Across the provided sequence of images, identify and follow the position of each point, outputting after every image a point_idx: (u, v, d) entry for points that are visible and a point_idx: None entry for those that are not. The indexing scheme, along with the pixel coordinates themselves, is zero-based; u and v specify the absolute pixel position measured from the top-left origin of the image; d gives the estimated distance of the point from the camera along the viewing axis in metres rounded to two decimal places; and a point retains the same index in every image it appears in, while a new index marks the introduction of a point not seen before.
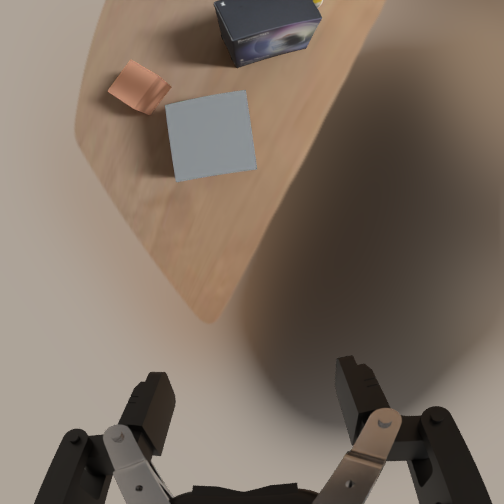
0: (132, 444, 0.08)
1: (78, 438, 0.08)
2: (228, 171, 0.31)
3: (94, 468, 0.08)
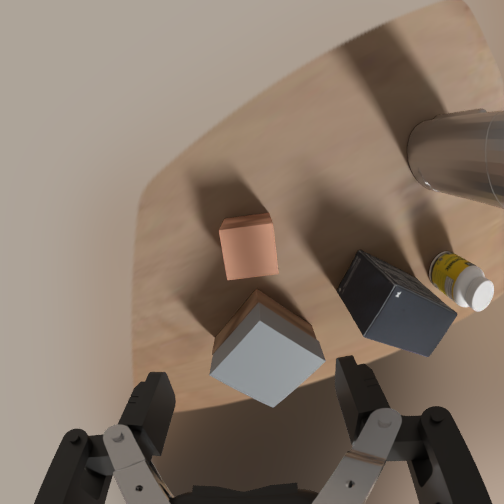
0: (132, 444, 0.08)
1: (78, 438, 0.08)
2: (253, 397, 0.31)
3: (94, 468, 0.08)
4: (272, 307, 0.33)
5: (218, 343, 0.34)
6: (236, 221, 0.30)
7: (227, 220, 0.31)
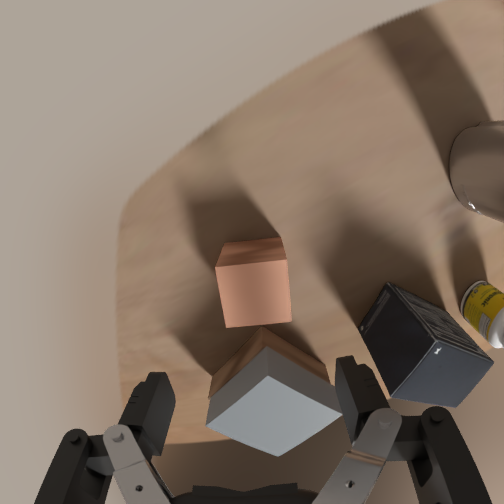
0: (132, 444, 0.08)
1: (78, 438, 0.08)
2: (256, 447, 0.25)
3: (94, 468, 0.08)
4: (280, 350, 0.27)
5: (215, 386, 0.28)
6: (239, 250, 0.23)
7: (227, 247, 0.25)
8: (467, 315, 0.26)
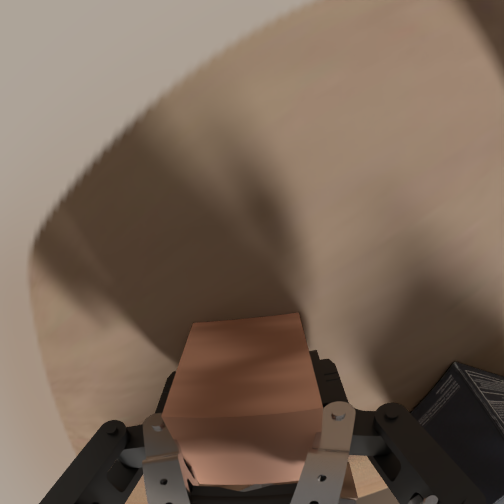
0: None
1: (116, 430, 0.08)
2: None
3: (127, 461, 0.08)
4: None
5: None
6: (217, 356, 0.11)
7: (197, 339, 0.12)
8: None
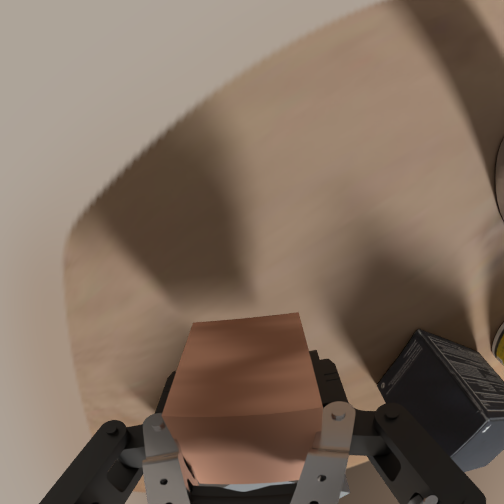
0: None
1: (116, 430, 0.08)
2: None
3: (127, 461, 0.08)
4: None
5: None
6: (217, 356, 0.11)
7: (197, 339, 0.12)
8: (501, 355, 0.19)
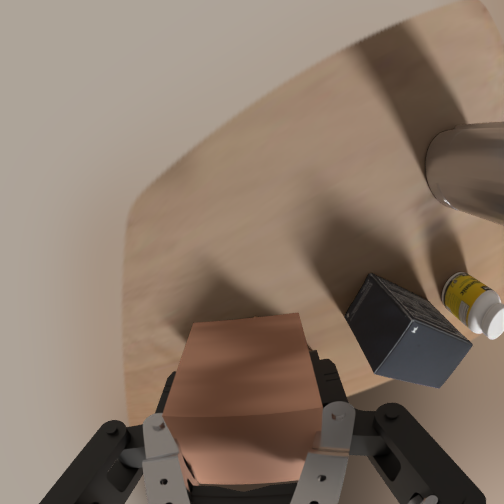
0: None
1: (116, 430, 0.08)
2: None
3: (127, 461, 0.08)
4: None
5: None
6: (217, 356, 0.11)
7: (197, 339, 0.12)
8: (448, 304, 0.30)
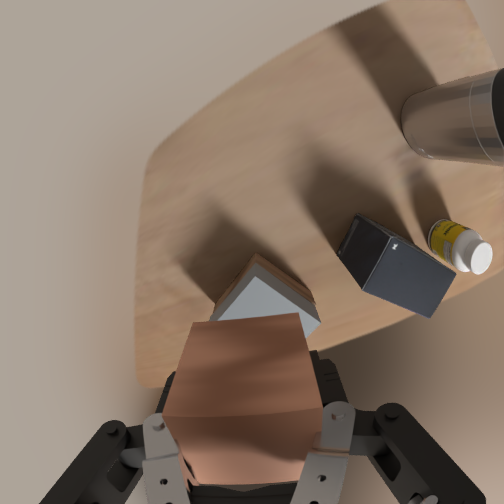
0: None
1: (116, 430, 0.08)
2: None
3: (127, 461, 0.08)
4: (271, 269, 0.34)
5: None
6: (217, 356, 0.11)
7: (197, 339, 0.12)
8: (433, 247, 0.34)
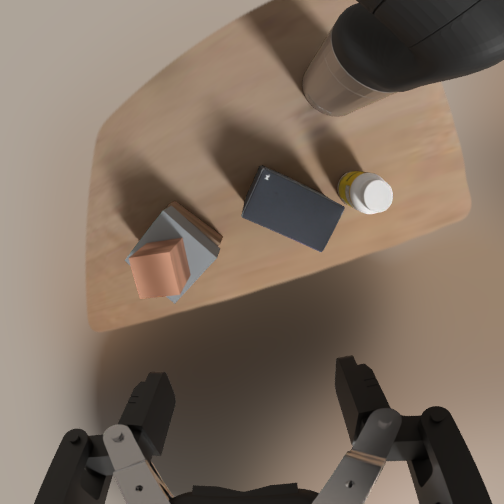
0: (132, 444, 0.08)
1: (78, 438, 0.08)
2: None
3: (94, 468, 0.08)
4: (183, 212, 0.40)
5: None
6: (149, 247, 0.33)
7: (145, 245, 0.35)
8: (341, 195, 0.40)
